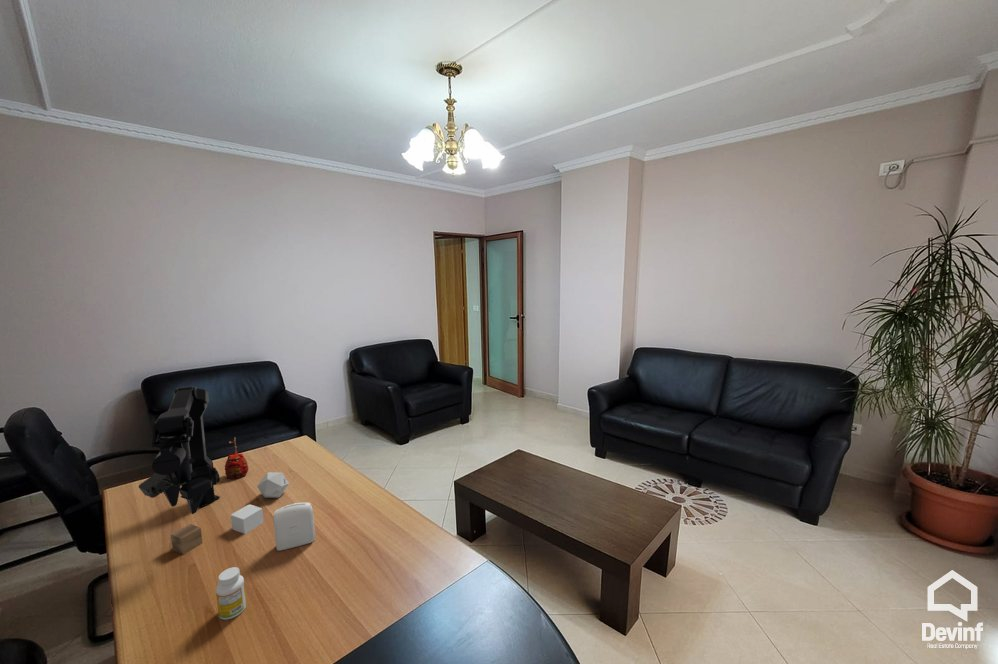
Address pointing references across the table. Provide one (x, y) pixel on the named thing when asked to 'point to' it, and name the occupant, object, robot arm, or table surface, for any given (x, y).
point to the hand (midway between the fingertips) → (183, 509)
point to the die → (273, 485)
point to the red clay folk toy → (236, 464)
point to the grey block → (247, 518)
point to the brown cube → (186, 538)
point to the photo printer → (294, 526)
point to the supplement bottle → (230, 593)
